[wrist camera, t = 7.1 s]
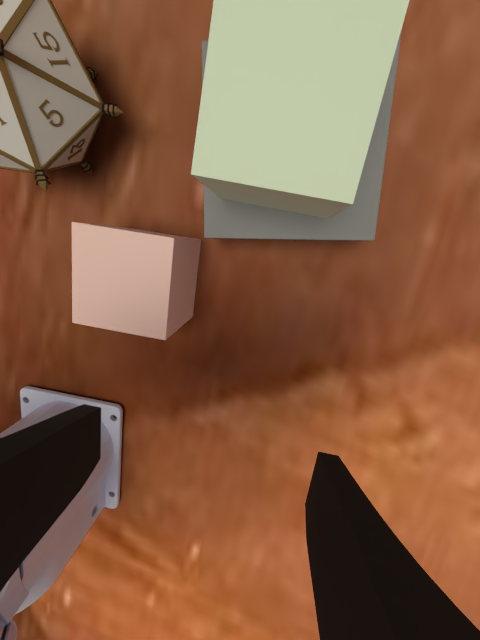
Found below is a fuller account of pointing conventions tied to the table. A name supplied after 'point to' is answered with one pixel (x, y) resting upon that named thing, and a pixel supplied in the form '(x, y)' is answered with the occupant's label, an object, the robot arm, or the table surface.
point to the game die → (44, 93)
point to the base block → (284, 225)
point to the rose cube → (133, 279)
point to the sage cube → (293, 99)
